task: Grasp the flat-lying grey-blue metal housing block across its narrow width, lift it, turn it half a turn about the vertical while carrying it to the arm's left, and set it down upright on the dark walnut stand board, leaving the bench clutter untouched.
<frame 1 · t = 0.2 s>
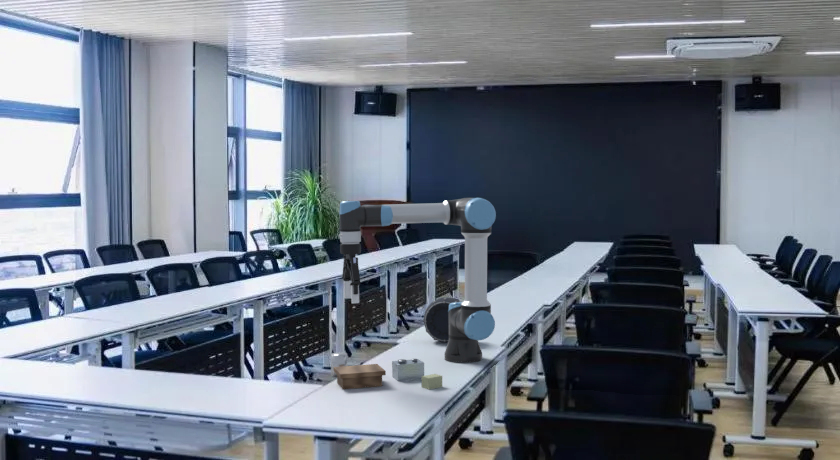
hand: (351, 300, 308), 28 cm above the table, fingers open, 13 cm apart
grey metal can: (339, 375, 310), on the table
housing: (408, 378, 305), on the table
dark grey drum: (446, 342, 372), on the table
olive painted block: (432, 387, 291), on the table
walnut stand: (359, 384, 295), on the table
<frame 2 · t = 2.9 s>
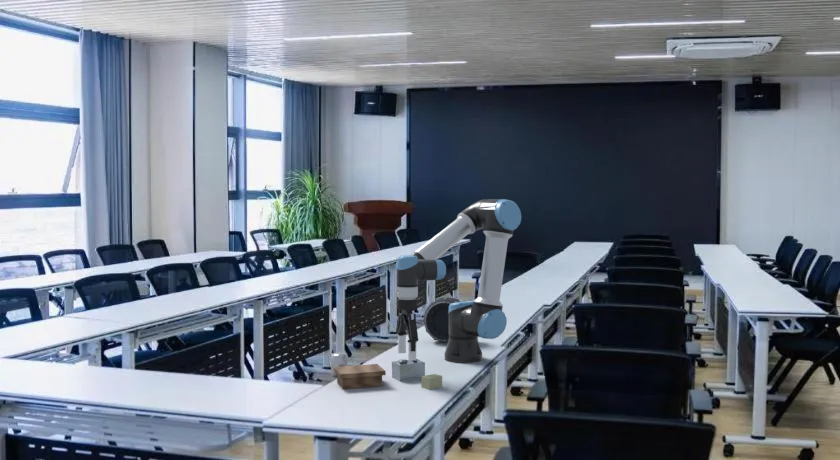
hand: (406, 356, 304), 8 cm above the table, fingers open, 13 cm apart
nothing on the table moved.
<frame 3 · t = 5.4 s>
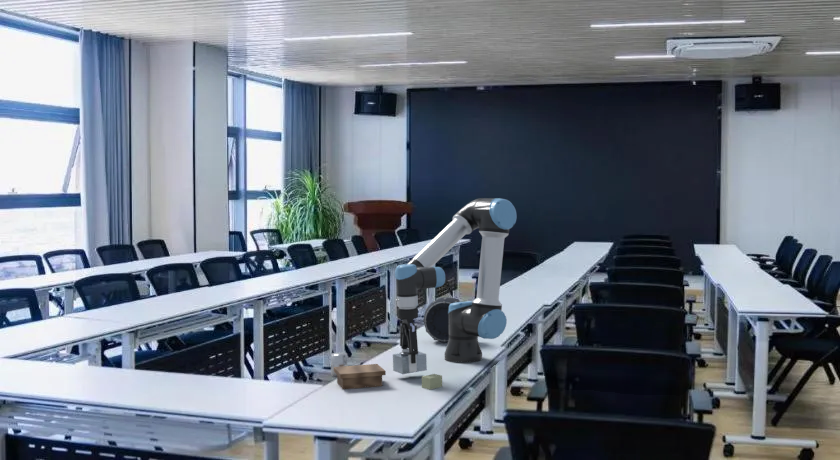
hand: (409, 369, 305), 3 cm above the table, fingers closed on housing, 8 cm apart
housing: (410, 370, 305), point 3 cm above the table, touching gripper
everything else where it was.
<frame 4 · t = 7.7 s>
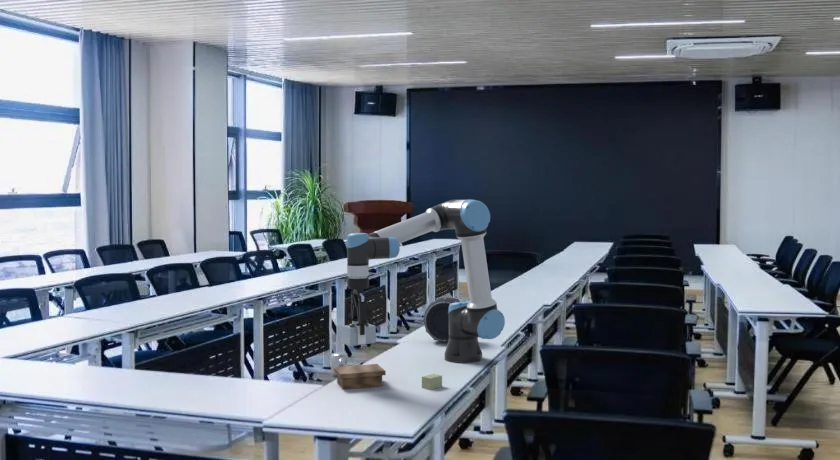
hand: (359, 341, 295), 15 cm above the table, fingers closed on housing, 8 cm apart
housing: (358, 342, 295), point 15 cm above the table, touching gripper
everything else where it was.
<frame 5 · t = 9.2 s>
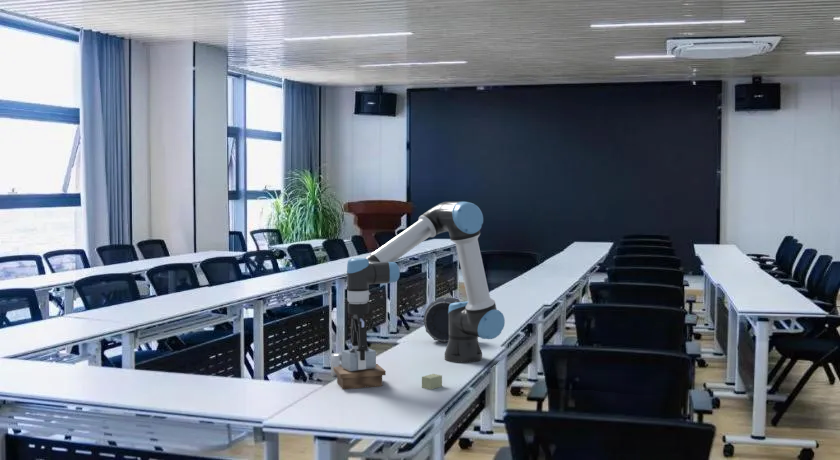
hand: (359, 366, 295), 6 cm above the table, fingers closed on housing, 8 cm apart
housing: (358, 367, 295), point 6 cm above the table, touching gripper
everything else where it was.
when the fingers open (6 cm above the table, at t = 9.8 s): housing stays where it is, resting on walnut stand.
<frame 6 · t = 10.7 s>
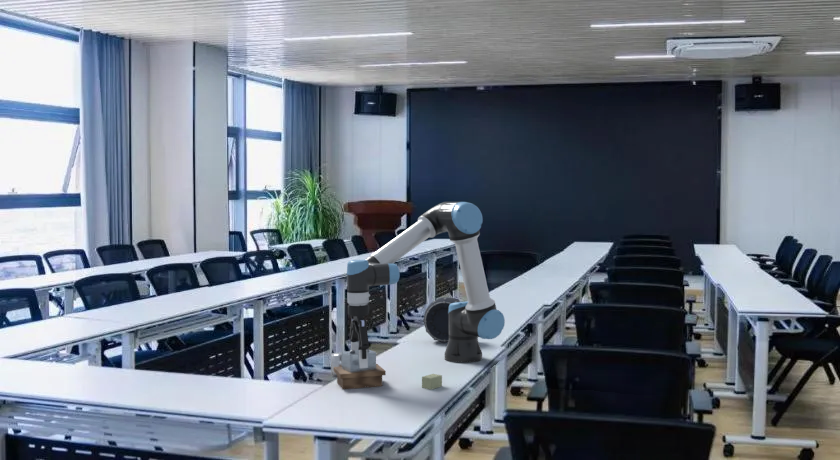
hand: (359, 364, 295), 7 cm above the table, fingers open, 13 cm apart
housing: (358, 369, 295), point 5 cm above the table, touching walnut stand
everything else where it was.
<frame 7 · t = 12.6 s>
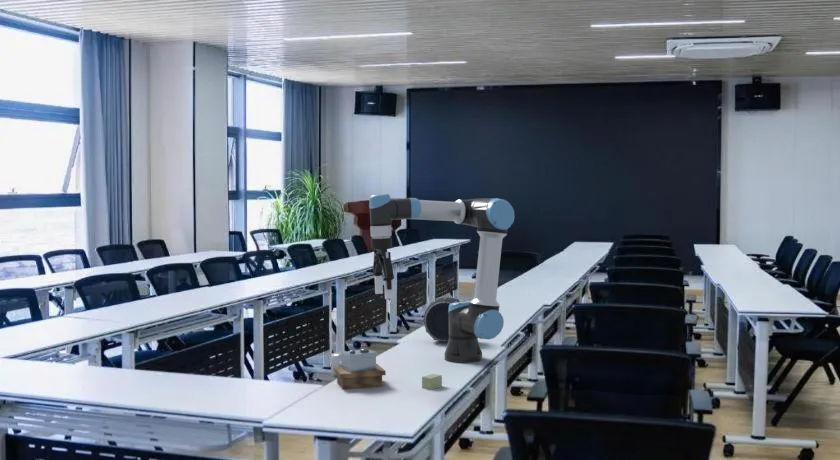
hand: (383, 296, 302), 30 cm above the table, fingers open, 13 cm apart
nothing on the table moved.
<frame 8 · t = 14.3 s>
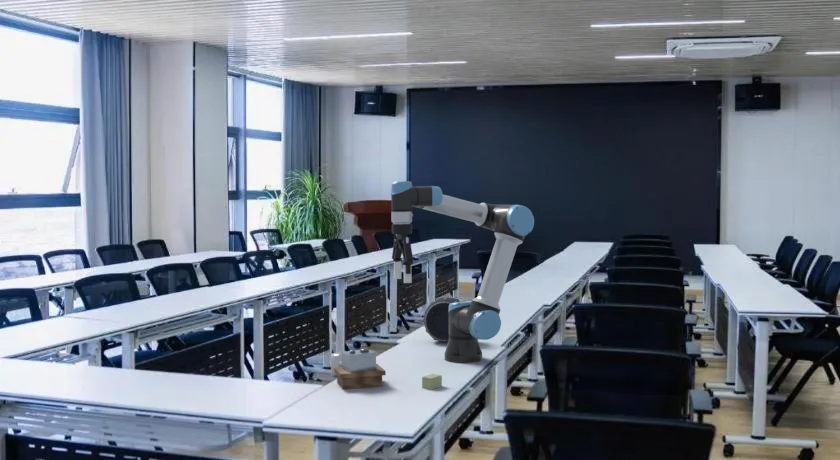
hand: (402, 281, 309), 35 cm above the table, fingers open, 13 cm apart
nothing on the table moved.
at the end: housing inside the target area on the walnut stand (0.1 cm from its centre), point 5.5 cm above the walnut stand's base; housing tilted 0°; the gripper is holding nothing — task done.
